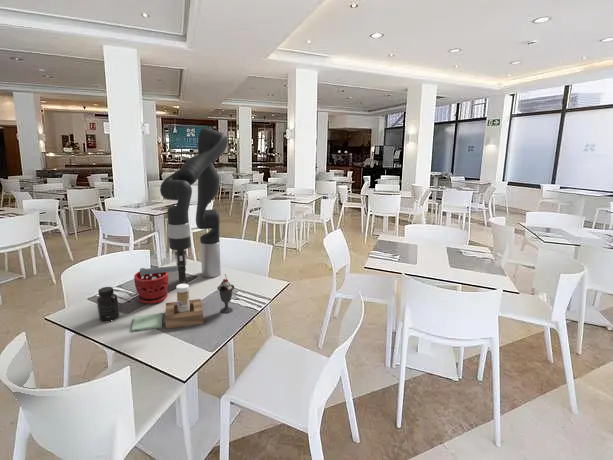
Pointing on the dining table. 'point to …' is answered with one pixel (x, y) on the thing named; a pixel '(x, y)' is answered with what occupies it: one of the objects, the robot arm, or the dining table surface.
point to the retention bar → (158, 270)
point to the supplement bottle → (107, 304)
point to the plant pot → (151, 287)
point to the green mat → (147, 321)
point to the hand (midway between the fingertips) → (182, 276)
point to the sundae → (226, 294)
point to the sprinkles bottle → (183, 298)
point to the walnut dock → (183, 314)
